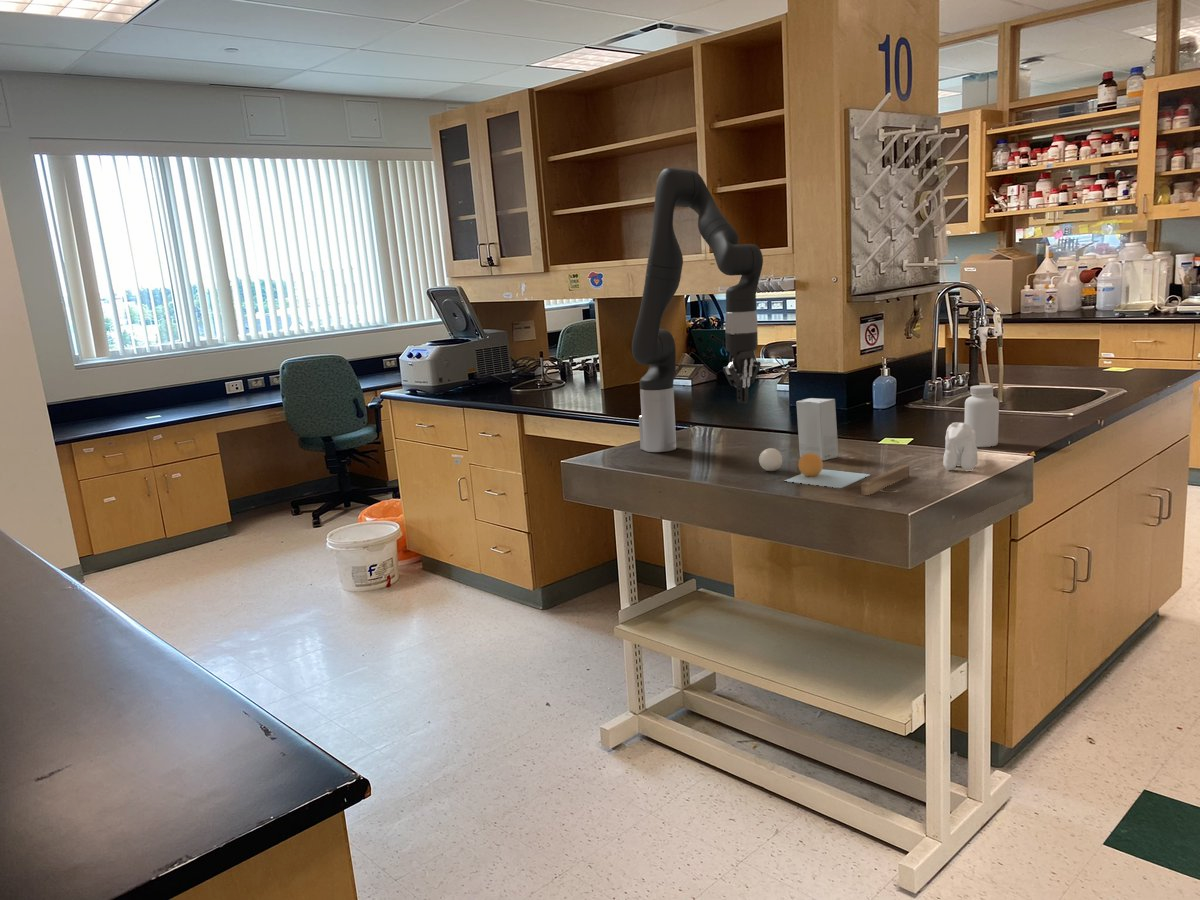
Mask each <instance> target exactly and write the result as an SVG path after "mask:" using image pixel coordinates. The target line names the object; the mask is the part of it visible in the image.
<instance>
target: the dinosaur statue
mask: <svg viewBox="0 0 1200 900" xmlns="http://www.w3.org/2000/svg"><path fill="white" fill-rule="evenodd" d="M944 440H945V445H944V446H945V447H944V448H945V450H944V454H943V457H942V458H943V459H942V460H943V463H942V464H943V467H944V468H945V469H946V470H947V469H949V470H951V471H953V470H955V469H956V466H957V465H960V466H961V469H962V470H963V471H965V470H972V469H974V470H975V467H976V466H977V465H978V447H976V444H975V441H976V433H975V431H974V430H972V429H971V427H970V426H969V425H968V424H966V423H964V422H951V424H949V425H948V426H947V429H946V433H945V438H944ZM975 465H976V466H975ZM949 470H948V471H949Z"/></svg>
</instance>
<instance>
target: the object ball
mask: <svg viewBox="0 0 1200 900" xmlns="http://www.w3.org/2000/svg"><path fill="white" fill-rule="evenodd" d="M797 466H798V469H799V472H800V474H803V475H805V476H808V477H813V476H816V475H818V474H819V473H820V472H821V471H822V469H823V468H824V463H823V460H822V459H821V458H820V457H819V456H818V455H817V454H814V453H807V454H804V455H803V456H802V457H799V460H798V464H797Z"/></svg>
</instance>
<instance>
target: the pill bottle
mask: <svg viewBox="0 0 1200 900" xmlns="http://www.w3.org/2000/svg"><path fill="white" fill-rule="evenodd" d="M969 389H970V391H969V393H970V395H971V396H969V397H967V398H966V399H965V401H964V421H963V423H966V424H968V425H969V426H970V427H971V429H972V430H974V431H975V433H976V441H975V444H976V447H977V448H990V447H991V446H992V447H995V446H997V445H998V441H999V421H1000V420H999V419H1000V418H999V415H1000V400H999V399H998V397H995V396H993V395H994V386H993V385H989V384H981V385H980V384H979V385H972V386H970V388H969Z"/></svg>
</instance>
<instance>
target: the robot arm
mask: <svg viewBox="0 0 1200 900" xmlns="http://www.w3.org/2000/svg"><path fill="white" fill-rule="evenodd" d="M656 181H657V182H656V186H655V194H654V196H655V197H654V209H653V210H654V211H653V224H652V225H653V226H652V232H651V233H652V234H651V240H650V247H649V253H648V258H647V264H646V271H645V279H644V285H643V291H642V297H641V302H640V308H639V313H638V317H637V321H636V324H635V328H634V331H633V336H632V341H631V352H632V353H631V354H632V356H633V359H634V360H635V362H636V363H637V364H639V365H642V366H646V365H647V366H648V369H647V371H646V373H645V374H644V375H643V376H641V378H640V379H639V394H640V396H639V397H640V409H641V410H640V411H641V412H640V414H641V415H639V416H638V426H639V430H638V431H639V445H640V447H639V448H640V450H641V449H642V450H643V451H644V452H649V453H661V452H662V453H663V452H671V451H675V450H676V449H677V437H676V435H677V434H676V433H677V432H676V415H675V414H676V413H675V412H676V411H675V392H674V381H675V377H676V373H677V369H676V368H677V367H676V363H677V360H676V359H677V356H676V355H677V354H676V352H677V351H676V350H677V349H676V343H675V339H674V336H673V335H672V333H671V332H670V331H669V330H668V329H665V328H660V327H661V323H662V318H663V315H664V313H665V311H666V310H667V308H668V306H669V304H670V302H671V301H672V299H673V298H674V296H675V294H676V292H677V291H678V288H679V286H680V283H681V277H682V270H683V264H684V263H683V262H684V257H683V253H682V250H681V248H680V245H679V241H678V238H677V237H676V234H675V230H674V229H675V228H674V211H675V207H680V208H690V209H691V210H693V211H694V212H695V213H696V214H697V215H698V221H697V227H698V231H699V234H700V235H701V237H702V238H703V240H704V241H705V242H706V244H707V245H708V247H710V249H711V250H712V253H713V256H714V259H715V262H716V266H717V269H718V270H719V271H720V272H721V273H722V274H724V275H726V276H729V277H730V276H731V277H733V276H740V279H739V282H738V283H737V284H736V285H735V284H734V285H732V286H729V287H728V288H727V289H726V292H725V311H726V312H725V322H724V324H725V326H724V327H725V332H724V333H725V350H726V351H727V352H729V357H728V362H729V363H728V365H727V366H723V368H722V372H723V373H724V375H725V377H726V379H727V381H728V383H729V385H730V386H731V387H735V388H736V402H737V403H738V404H746V403H749V387H750V386H751V384H754V382H755V380H756V377H757V375H758V372H759V370H760V367H761V362H760V361H757V360H756V359H755V358H756V357H755V352H754V351H757V350H758V348H759V347H758V346H759V345H758V344H759V342H758V341H759V340H758V316H757V289H758V286H759V281H760V277H761V273H762V269H763V264H764V257H763V256H764V255H763V253H762V251H761V248H760V247H759V246H758V245H756V244H754V243H753V244H752V243H745V244H744V243H742V244H739V240H740V238H739V234H738V232H737V230H736V229H735V228H734V227H733V226H732V224H731V223H730V222H729V220H727V219H726V217H725V216H724V214H723V213H722V212H721V210H720V209H719V208H718V207H719V206H718V205H717V204H716V201H715V200H714V198H713V196H712V194H711V192H710V191H709V188H708V187H707V184H706V183H705V181H704V179H703V178H702V176H701V175H700V174H699V173H698V172H697V171H695V170H693V169H686V168H685V169H684V168H676V167H675V168H673V167H665V168H663V170H661V172H660V173H659V175H658V177H657V180H656Z"/></svg>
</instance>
